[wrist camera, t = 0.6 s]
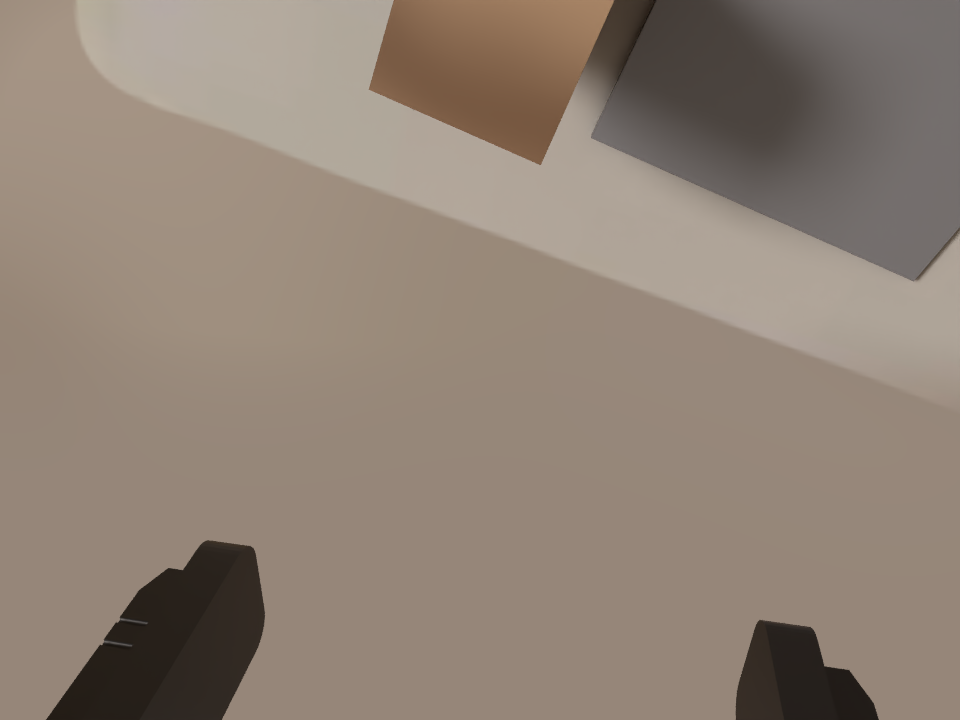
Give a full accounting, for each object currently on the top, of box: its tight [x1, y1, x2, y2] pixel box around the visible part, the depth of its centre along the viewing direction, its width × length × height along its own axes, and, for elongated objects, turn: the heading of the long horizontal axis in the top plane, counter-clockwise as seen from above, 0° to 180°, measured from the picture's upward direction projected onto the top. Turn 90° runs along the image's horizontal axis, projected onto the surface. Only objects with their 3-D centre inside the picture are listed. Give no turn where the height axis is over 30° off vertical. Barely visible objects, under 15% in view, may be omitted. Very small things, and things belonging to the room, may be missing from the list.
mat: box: [591, 0, 960, 281], centre depth 28 cm, size 10×14×1 cm
